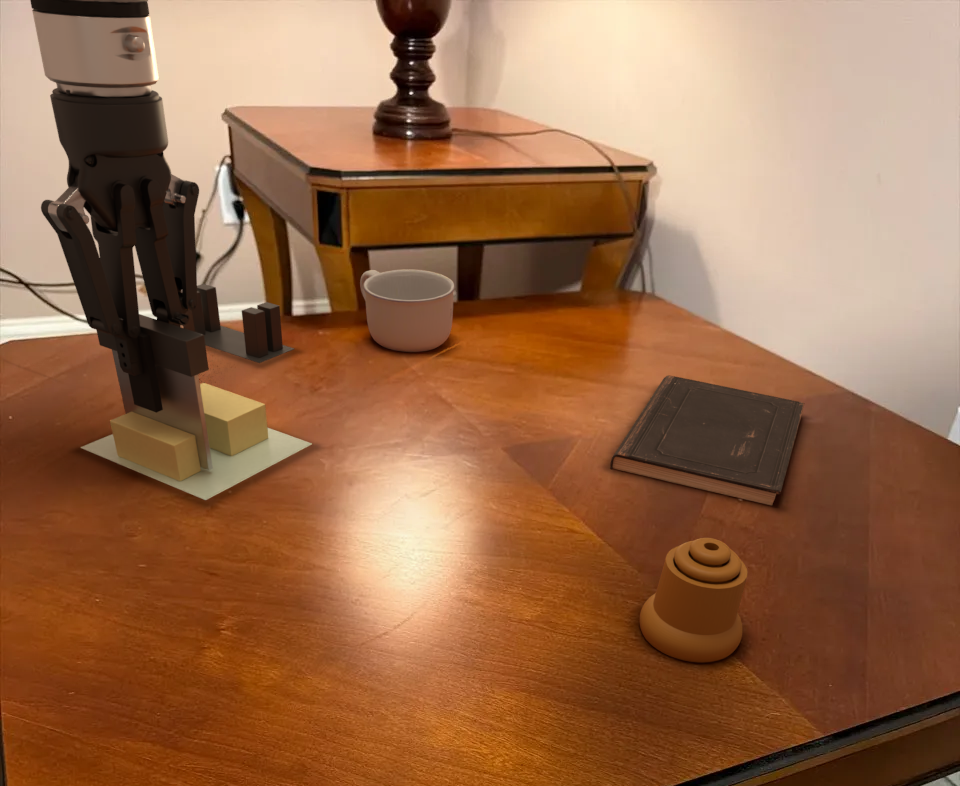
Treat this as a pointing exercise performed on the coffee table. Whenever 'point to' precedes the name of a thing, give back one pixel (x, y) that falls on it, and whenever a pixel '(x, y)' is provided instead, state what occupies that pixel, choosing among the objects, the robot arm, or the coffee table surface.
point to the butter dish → (214, 463)
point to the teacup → (408, 308)
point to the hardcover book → (713, 439)
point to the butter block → (232, 420)
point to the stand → (252, 344)
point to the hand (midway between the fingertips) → (160, 401)
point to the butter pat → (156, 445)
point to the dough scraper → (172, 379)
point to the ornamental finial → (696, 602)
